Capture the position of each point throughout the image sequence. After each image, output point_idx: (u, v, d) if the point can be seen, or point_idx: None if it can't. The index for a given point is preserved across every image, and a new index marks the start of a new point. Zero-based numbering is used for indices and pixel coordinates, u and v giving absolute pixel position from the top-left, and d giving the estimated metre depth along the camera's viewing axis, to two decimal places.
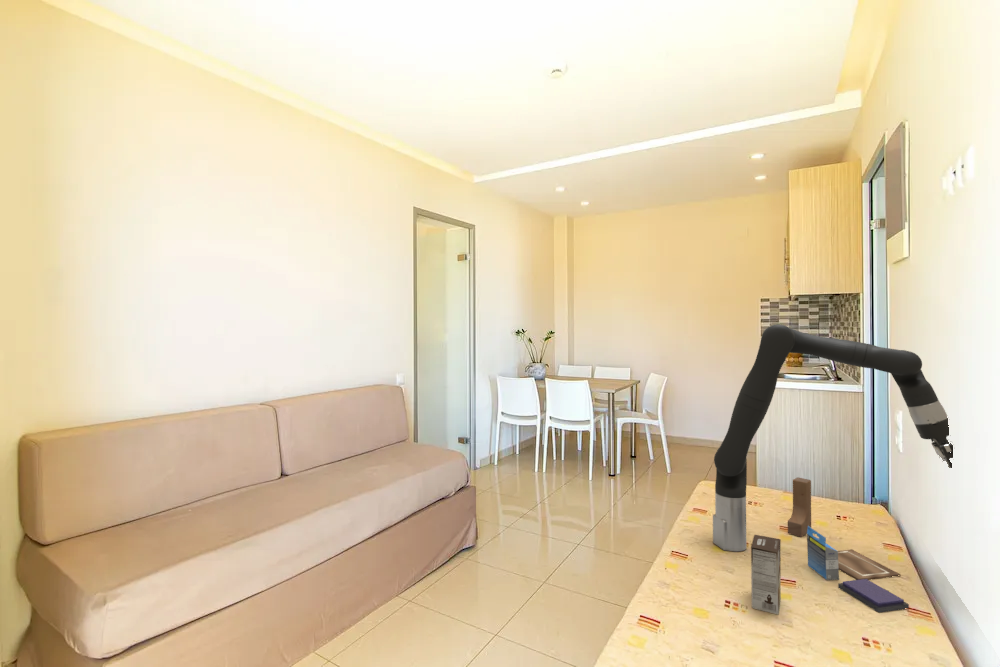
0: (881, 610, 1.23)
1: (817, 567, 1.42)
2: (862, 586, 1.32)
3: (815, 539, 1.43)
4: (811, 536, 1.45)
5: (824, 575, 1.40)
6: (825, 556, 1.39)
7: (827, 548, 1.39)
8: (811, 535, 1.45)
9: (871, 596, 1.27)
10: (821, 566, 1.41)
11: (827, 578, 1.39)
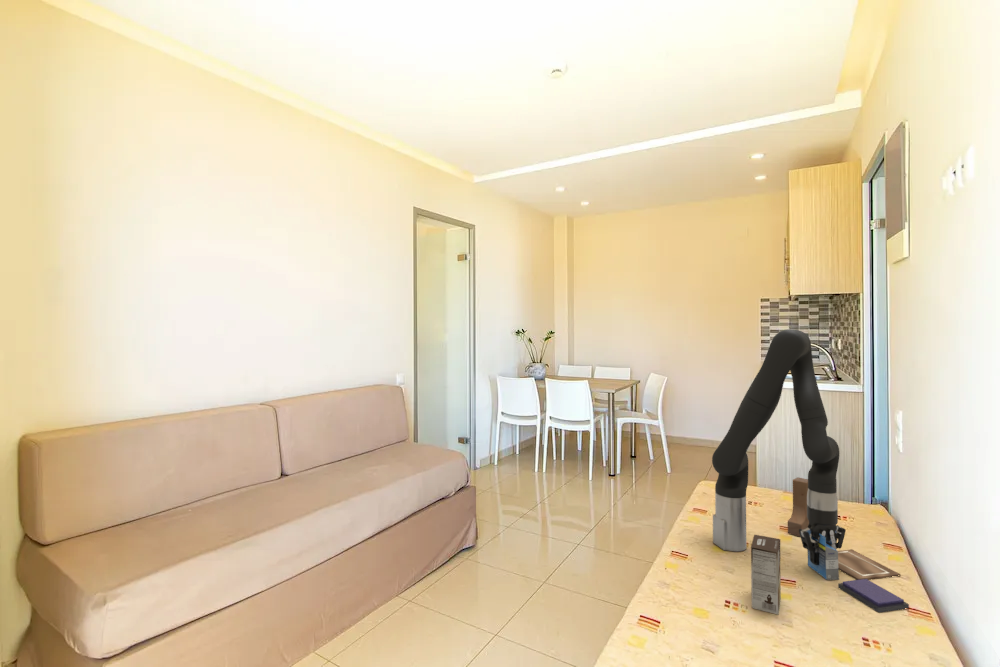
0: (881, 610, 1.23)
1: (817, 567, 1.43)
2: (862, 586, 1.32)
3: (815, 539, 1.43)
4: None
5: (824, 575, 1.40)
6: (825, 555, 1.39)
7: (827, 548, 1.39)
8: None
9: (871, 596, 1.27)
10: (821, 566, 1.41)
11: (827, 578, 1.39)
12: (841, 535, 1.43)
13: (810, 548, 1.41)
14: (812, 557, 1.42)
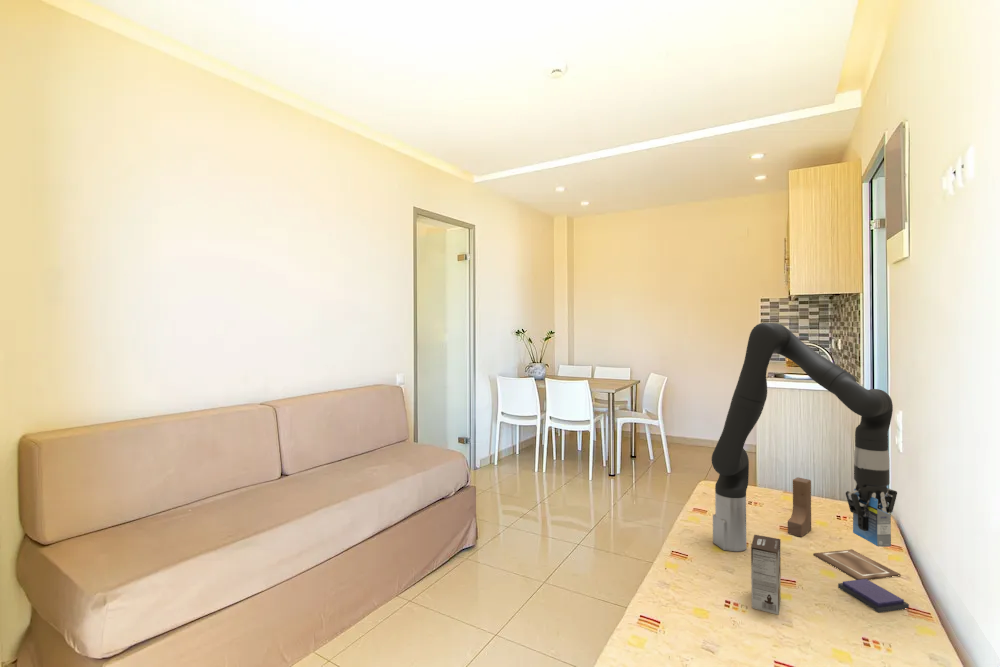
0: (881, 610, 1.23)
1: (866, 533, 1.29)
2: (862, 586, 1.32)
3: None
4: None
5: (874, 541, 1.26)
6: (877, 520, 1.25)
7: (879, 511, 1.25)
8: None
9: (871, 596, 1.27)
10: (871, 532, 1.27)
11: (878, 544, 1.25)
12: (892, 497, 1.29)
13: (859, 512, 1.28)
14: (860, 522, 1.29)
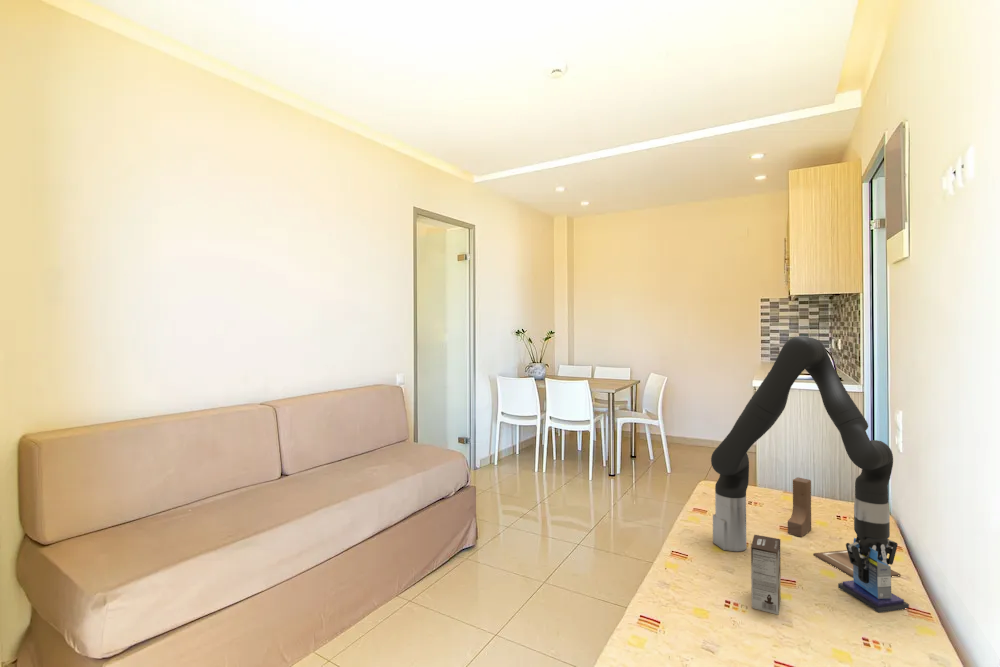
0: (881, 610, 1.23)
1: (866, 584, 1.29)
2: None
3: None
4: None
5: (875, 593, 1.26)
6: (877, 572, 1.25)
7: (879, 563, 1.25)
8: None
9: (871, 596, 1.27)
10: (872, 583, 1.27)
11: (879, 597, 1.25)
12: (892, 549, 1.29)
13: (859, 564, 1.28)
14: (861, 574, 1.29)
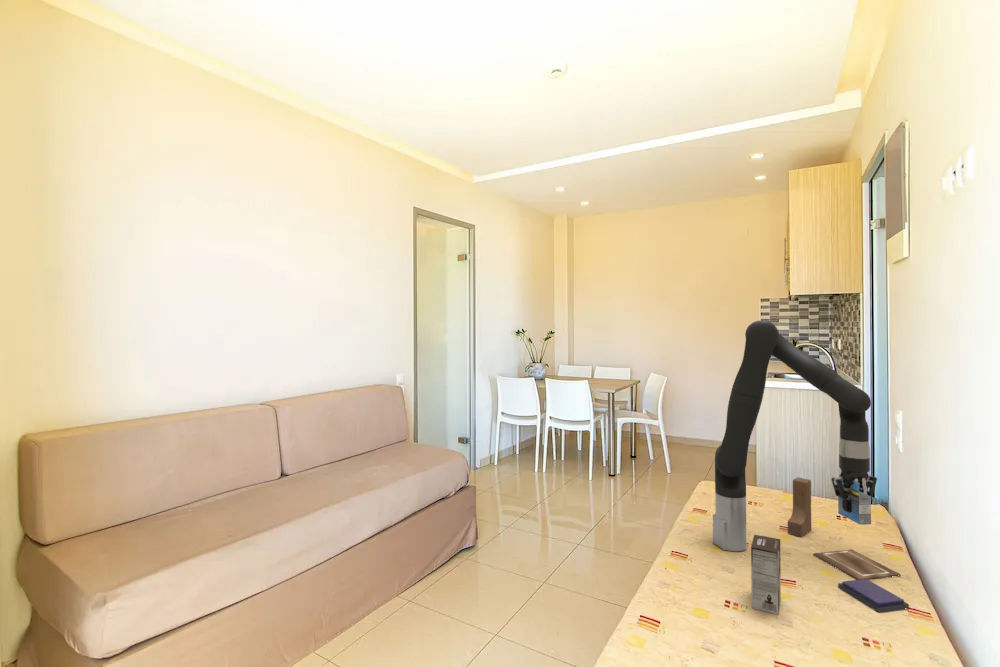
0: (881, 610, 1.23)
1: (849, 513, 1.46)
2: (862, 586, 1.32)
3: None
4: None
5: (857, 520, 1.44)
6: (858, 501, 1.43)
7: (860, 493, 1.43)
8: None
9: (871, 596, 1.27)
10: (854, 512, 1.45)
11: (860, 522, 1.43)
12: (872, 483, 1.47)
13: (843, 495, 1.45)
14: (845, 505, 1.46)
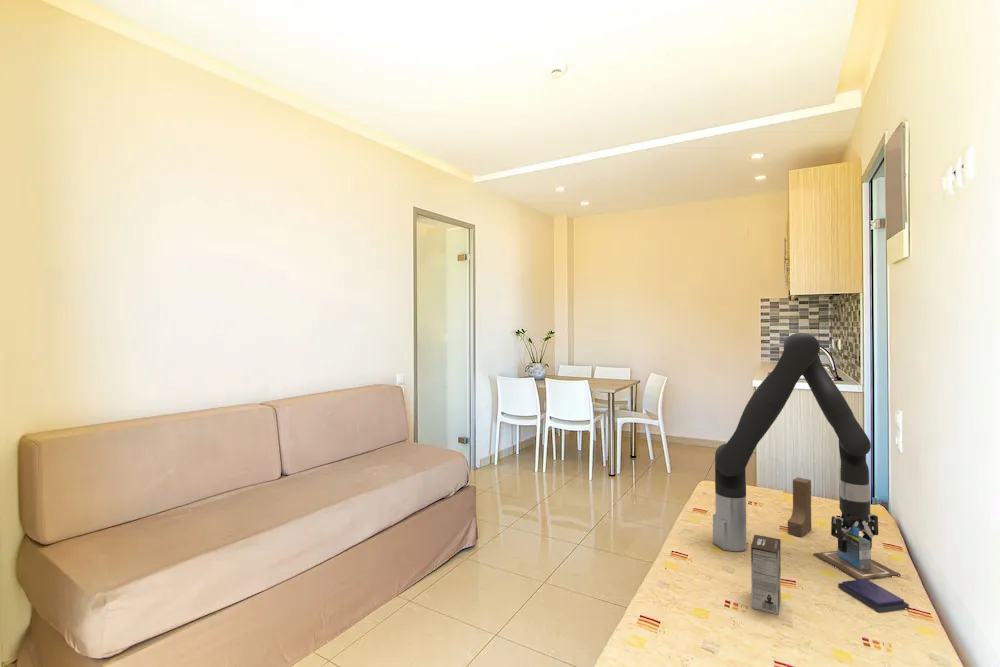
0: (881, 610, 1.23)
1: (850, 558, 1.47)
2: (862, 586, 1.32)
3: None
4: None
5: (857, 565, 1.44)
6: (859, 546, 1.43)
7: (860, 539, 1.43)
8: None
9: (871, 596, 1.27)
10: (854, 557, 1.45)
11: (860, 568, 1.43)
12: (875, 522, 1.47)
13: (838, 536, 1.45)
14: (840, 545, 1.46)
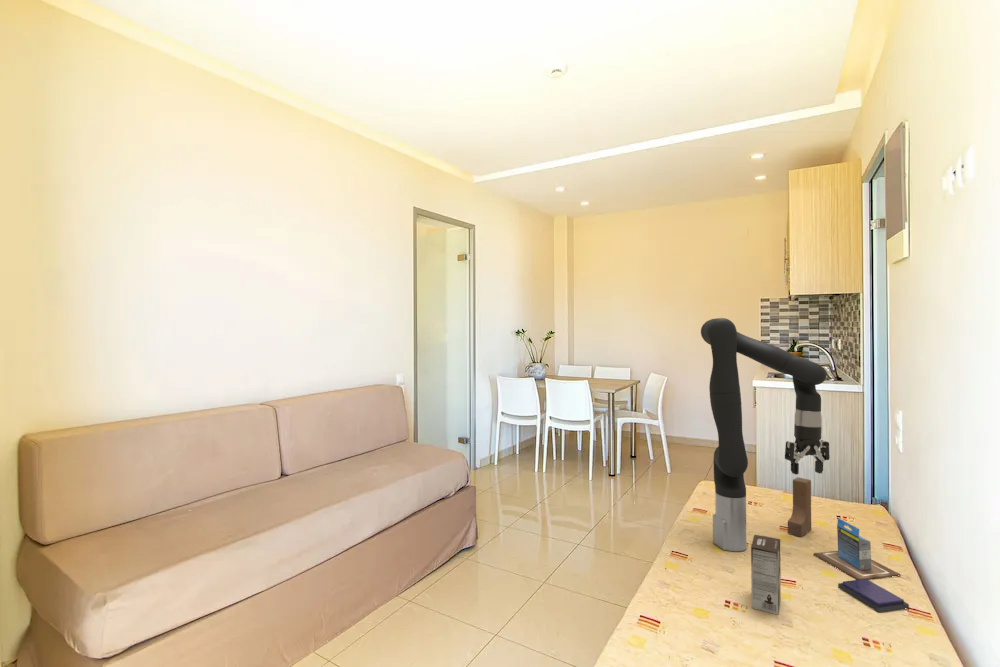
0: (881, 610, 1.23)
1: (850, 558, 1.47)
2: (862, 586, 1.32)
3: (847, 530, 1.47)
4: (842, 528, 1.49)
5: (857, 565, 1.44)
6: (859, 546, 1.43)
7: (860, 539, 1.43)
8: (842, 527, 1.49)
9: (871, 596, 1.27)
10: (854, 557, 1.45)
11: (860, 568, 1.43)
12: (826, 448, 1.59)
13: (791, 458, 1.57)
14: (792, 467, 1.58)
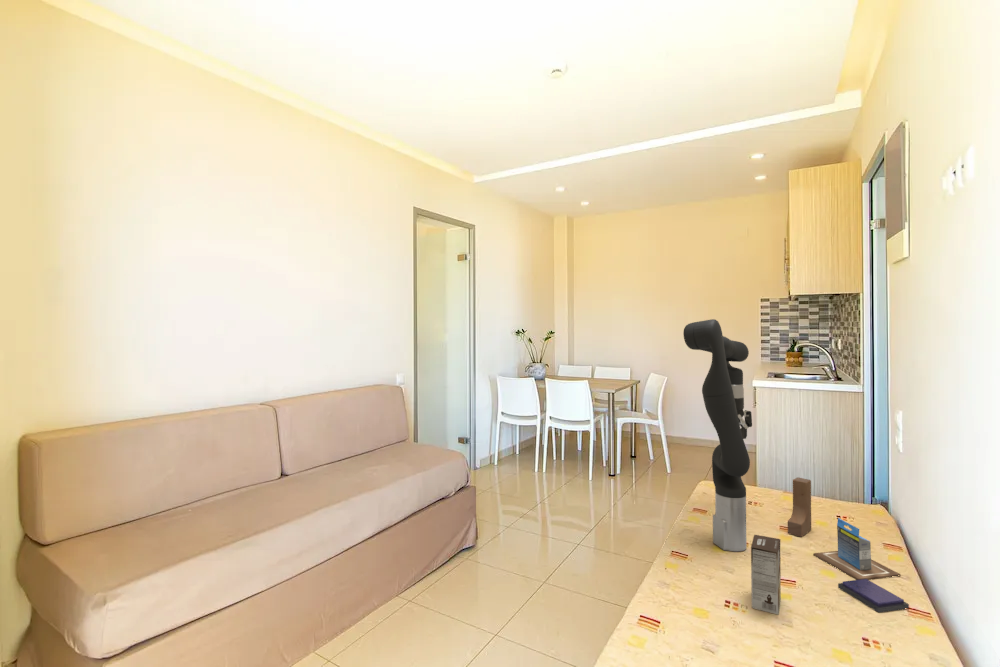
0: (881, 610, 1.23)
1: (850, 558, 1.47)
2: (862, 586, 1.32)
3: (847, 530, 1.47)
4: (842, 528, 1.49)
5: (857, 565, 1.44)
6: (859, 546, 1.43)
7: (860, 539, 1.43)
8: (842, 527, 1.49)
9: (871, 596, 1.27)
10: (854, 557, 1.45)
11: (860, 568, 1.43)
12: (749, 416, 1.83)
13: None
14: None
